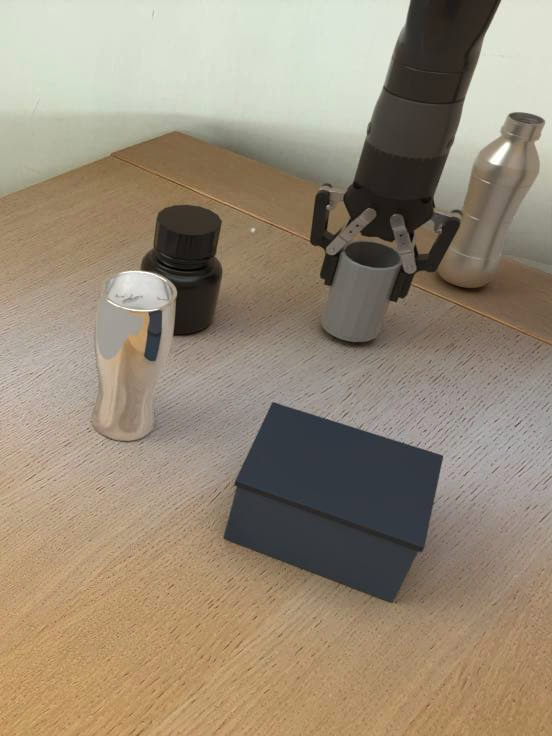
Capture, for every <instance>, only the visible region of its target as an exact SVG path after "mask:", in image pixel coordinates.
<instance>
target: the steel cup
mask: <svg viewBox="0 0 552 736" xmlns="http://www.w3.org/2000/svg"><path fill="white" fill-rule="evenodd" d="M401 268H402V260H401V256H400V255H399V253H398V249H397V247H394V246H392V245H390V244H387V243H385V242H381V241H378V240H377V241H376V240H374V239H373V240H372V239H355V240H351V241H350V242H349V243H347V244H346V245H345V246H344V247H342V248H341V250H340V254H339V258H338V262H337V265H336V269H335V272H334V276H333V279H332V282H331V286H329V289H328V293H327V297H326V299H325V303H324V307H323V310H322V315H321V317H320V324H321V327H322V328H323V330H325V331H326V333H327V334H329V335H331V336H332V337H335V338H337V339H339V340H342V341H347V342H352V343H364V342H369V341H372V340H374V339H376V338H377V337H378V336H379V334H380V333H381V332H380V331H381V328H382V326H383V323H384V321H385V317H386V315H387V312H388V310H389V309H388V308H389V307H390V303H391V301H390V299H391V297H392V294H393V291H394V288H395V285H396V282H397V279H398V276H399V273H400V271H401Z"/></svg>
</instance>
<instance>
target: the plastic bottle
mask: <svg viewBox="0 0 552 736" xmlns="http://www.w3.org/2000/svg"><path fill="white" fill-rule="evenodd" d="M545 124H546V120H545V119H544V118H543V117H541V116H540V115H537V114H533V113H529V112H523V111H513V112H510V113H508V114H507V116H506V118H505V119H504V122H503V124H502V125H501V127H500V130H499V133H500V134H501V135H500V136H498V137H497V138H495V139H494V140H493V141H491V142H489V143H488V144H487V145H486V146H484V147H483V148H482V149H480V151H479V152H478V153H477V155H476V156H475V157H474V160H473V163H472V167H471V170H470V171H471V172H470V175H469V182H468V186H467V191H466V194H465V197H464V200H463V205H462V207H461V209H460V211H461V212H462V213H463V216H462V220H461V224H460V227H459V229H458V231H457V233H456V235H455V237H454V238H453V240H452V242H451V244H450V246H449V248H448V250H447V251H446V253H445V255H444V257H443V259H442V261H441V263H440V264H439V266H438V268H437V270H436V271H437V272H438V275H439V276H440V278H441V279H442V280H444V281H445V282H446V283H449V284H451V285H454V286H456V287H460V288H466V289H477V288H478V289H479V288H482V287H483V286H485V285H487V284H489V283H490V282H491V281H492V280H493V279H494V277H495V276H496V274H497V273H498V271H499V268H500V264H501V260H502V254H503V248H504V245H505V242H506V239H507V236H508V233H509V229H510V227H511V225H512V223H513V220H514V217H515V216H516V215H517V213H518V210H519V208H520V206H521V204H522V202H523V201H524V199H525V198H526V196H527V195H528V194H529V193H528V192H530V190H531V188H532V186H533V184H534V183H535V181H536V180H537V177H538V176H539V174H540V170H541V169H540V166H541V161H540V156H539V153H538V150H537V147H536V145H535V143H536V142H537V141H539V140H540V139H541V137H542V131H543V129H544V126H545Z"/></svg>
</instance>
